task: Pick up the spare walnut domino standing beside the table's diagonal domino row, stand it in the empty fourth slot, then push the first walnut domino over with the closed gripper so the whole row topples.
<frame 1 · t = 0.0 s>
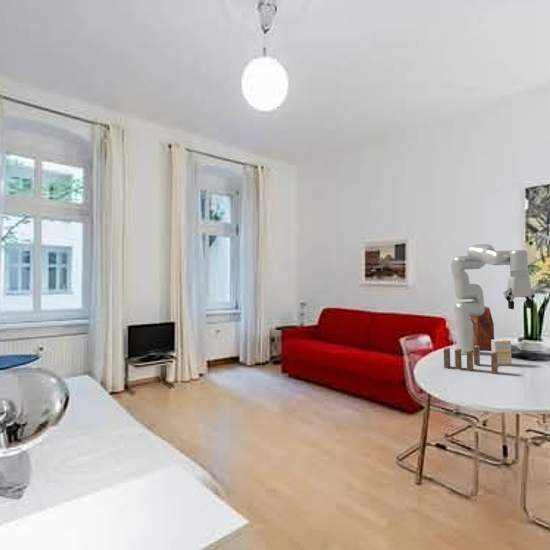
hand: (519, 308, 194), 31 cm above the table, tool pointing down, fingers open, 9 cm apart
domino 5: (494, 372, 192), on the table
handbag: (481, 347, 254), on the table
domino 3: (470, 370, 198), on the table
domino 1: (447, 367, 205), on the table
supplement box: (501, 364, 208), on the table
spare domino: (477, 364, 208), on the table
domino 2: (458, 368, 202), on the table
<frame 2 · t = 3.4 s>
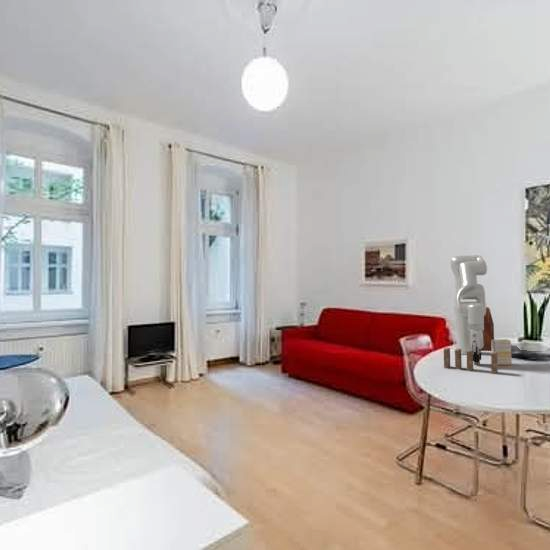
hand: (476, 360, 208), 2 cm above the table, tool pointing down, fingers closed on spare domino, 4 cm apart
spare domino: (477, 364, 208), on the table, touching gripper
everything else where it was.
when the fingers open (3 cm above the table, at t = 10.0 s): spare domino stays where it is, on the table.
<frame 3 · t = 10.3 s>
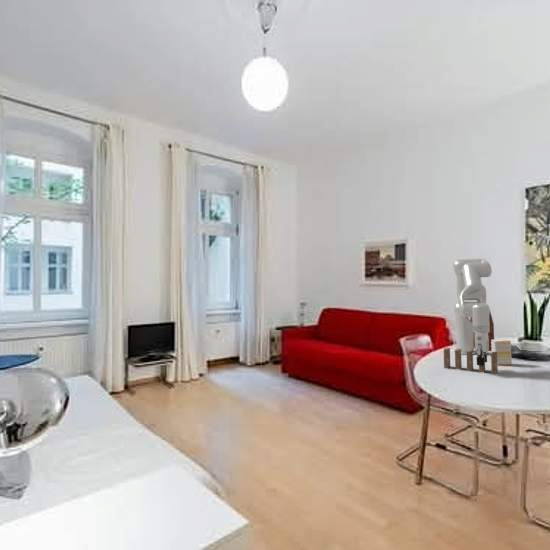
hand: (482, 363, 195), 4 cm above the table, tool pointing down, fingers open, 8 cm apart
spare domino: (482, 371, 195), on the table
everything else where it was.
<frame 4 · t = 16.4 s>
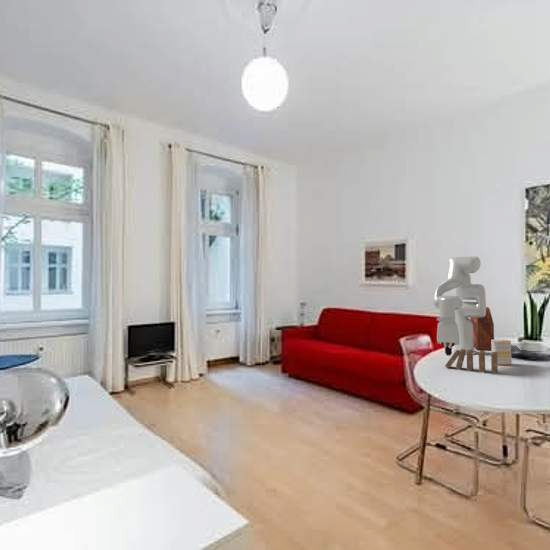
hand: (448, 355, 204), 7 cm above the table, tool pointing down, fingers closed
domino 1: (447, 366, 205), point 1 cm above the table, tilted 33°
domino 2: (458, 368, 202), on the table, tilted 14°
everything else where it was.
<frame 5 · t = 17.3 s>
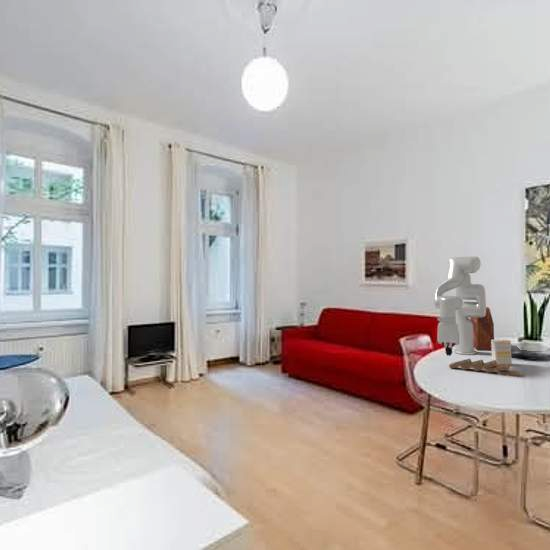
hand: (448, 355, 204), 7 cm above the table, tool pointing down, fingers closed
domino 5: (497, 372, 191), on the table, tilted 90°
domino 3: (475, 368, 197), point 1 cm above the table, tilted 67°, touching domino 2, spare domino
domino 1: (450, 366, 204), point 1 cm above the table, tilted 69°, touching domino 2
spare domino: (486, 369, 194), point 1 cm above the table, tilted 73°, touching domino 3
domino 2: (462, 367, 200), point 1 cm above the table, tilted 68°, touching domino 1, domino 3
everything else where it was.
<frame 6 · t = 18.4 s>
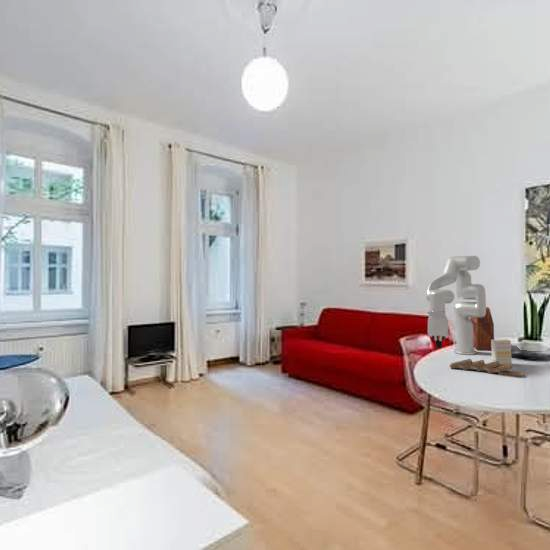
hand: (439, 347, 209), 10 cm above the table, tool pointing down, fingers closed
domino 3: (477, 368, 197), point 1 cm above the table, tilted 67°, touching domino 2, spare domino
domino 1: (451, 366, 204), point 1 cm above the table, tilted 69°
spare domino: (488, 370, 193), point 1 cm above the table, tilted 72°, touching domino 3
domino 2: (463, 367, 200), point 1 cm above the table, tilted 69°, touching domino 3
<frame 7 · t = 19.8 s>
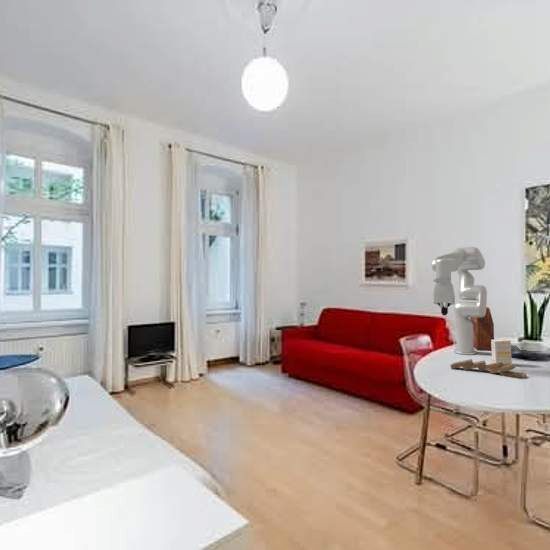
hand: (444, 314, 211), 27 cm above the table, tool pointing down, fingers closed
domino 5: (501, 372, 189), on the table, tilted 90°
domino 3: (481, 368, 196), point 1 cm above the table, tilted 68°, touching domino 2, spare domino
domino 1: (451, 366, 203), point 1 cm above the table, tilted 70°, touching domino 2
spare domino: (492, 370, 192), point 1 cm above the table, tilted 70°, touching domino 3
domino 2: (464, 367, 200), point 1 cm above the table, tilted 71°, touching domino 1, domino 3
everything else where it was.
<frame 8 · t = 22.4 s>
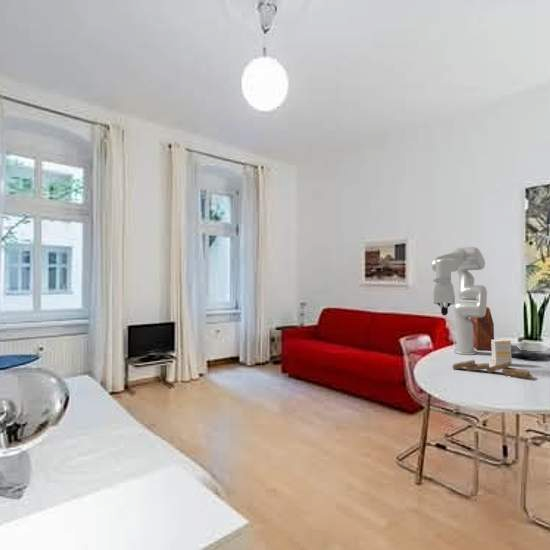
hand: (444, 314, 211), 27 cm above the table, tool pointing down, fingers closed
domino 5: (506, 374, 187), on the table, tilted 90°, touching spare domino
domino 3: (489, 370, 193), point 1 cm above the table, tilted 63°, touching domino 2, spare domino
domino 1: (454, 366, 202), point 1 cm above the table, tilted 71°, touching domino 2
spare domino: (504, 369, 188), point 2 cm above the table, tilted 90°, touching domino 3, domino 5
domino 2: (466, 367, 199), point 1 cm above the table, tilted 77°, touching domino 1, domino 3
everything else where it was.
at the end: domino 5 tilted 90°; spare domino tilted 89°; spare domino inside the target area (6.9 cm from its centre), point 2.2 cm above the table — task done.
